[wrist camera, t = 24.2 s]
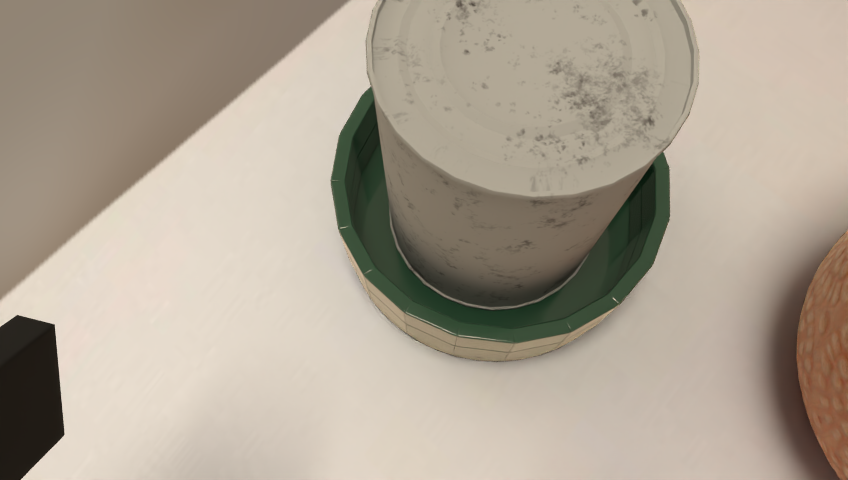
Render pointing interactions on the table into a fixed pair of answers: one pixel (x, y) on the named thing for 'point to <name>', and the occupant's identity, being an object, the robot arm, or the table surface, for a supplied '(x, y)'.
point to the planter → (827, 355)
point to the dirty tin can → (520, 131)
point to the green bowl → (471, 327)
